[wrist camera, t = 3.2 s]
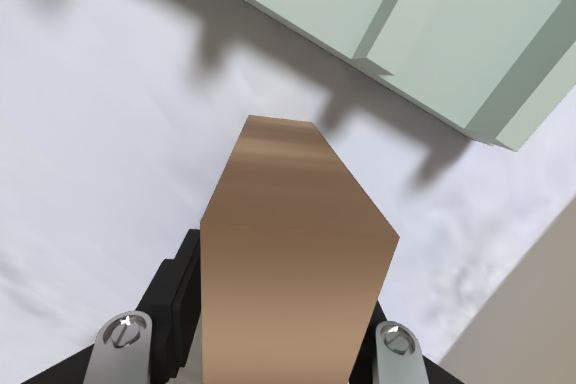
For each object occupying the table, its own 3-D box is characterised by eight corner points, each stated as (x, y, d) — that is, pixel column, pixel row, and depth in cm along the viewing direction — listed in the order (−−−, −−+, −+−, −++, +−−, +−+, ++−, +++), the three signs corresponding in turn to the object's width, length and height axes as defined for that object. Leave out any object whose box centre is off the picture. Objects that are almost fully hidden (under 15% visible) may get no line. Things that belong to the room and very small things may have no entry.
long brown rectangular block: (282, 328, 16) (292, 553, 8) (235, 327, 15) (205, 558, 8) (316, 122, 11) (414, 238, 3) (249, 114, 10) (200, 222, 3)
